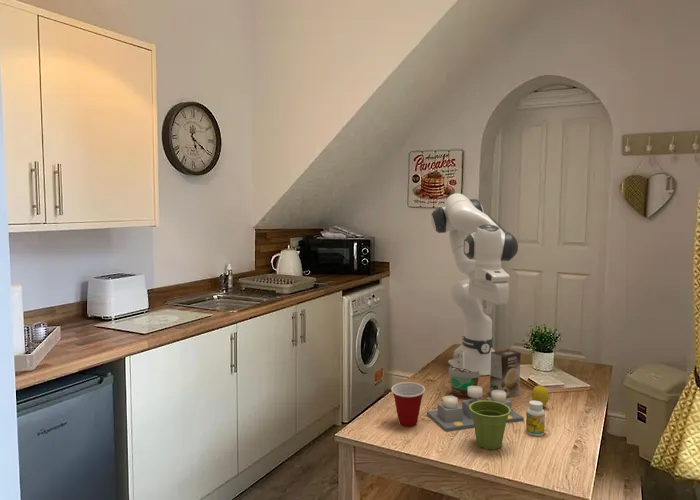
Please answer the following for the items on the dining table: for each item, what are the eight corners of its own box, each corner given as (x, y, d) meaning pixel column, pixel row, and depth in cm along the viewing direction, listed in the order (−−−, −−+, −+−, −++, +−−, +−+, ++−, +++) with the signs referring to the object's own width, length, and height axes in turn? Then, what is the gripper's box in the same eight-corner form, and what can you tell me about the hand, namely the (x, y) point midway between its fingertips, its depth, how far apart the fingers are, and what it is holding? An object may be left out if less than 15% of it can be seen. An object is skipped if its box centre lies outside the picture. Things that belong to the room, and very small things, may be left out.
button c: (439, 415, 182) (440, 396, 181) (453, 413, 183) (453, 395, 182) (446, 421, 177) (446, 401, 177) (460, 419, 179) (460, 400, 178)
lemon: (549, 411, 188) (550, 388, 187) (532, 409, 189) (533, 387, 189) (546, 404, 194) (547, 382, 193) (530, 403, 195) (531, 381, 194)
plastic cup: (386, 427, 175) (386, 390, 174) (397, 414, 185) (397, 380, 184) (418, 433, 171) (419, 395, 170) (428, 420, 181) (429, 384, 180)
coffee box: (502, 400, 198) (503, 356, 197) (489, 394, 204) (490, 352, 202) (519, 395, 203) (521, 352, 201) (506, 390, 208) (507, 348, 207)
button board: (426, 414, 185) (426, 400, 185) (499, 404, 194) (500, 391, 193) (445, 431, 172) (446, 416, 172) (523, 420, 180) (523, 405, 180)
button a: (488, 409, 187) (488, 390, 186) (500, 407, 188) (501, 389, 188) (495, 414, 182) (496, 395, 182) (508, 412, 184) (509, 394, 183)
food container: (441, 393, 205) (441, 367, 204) (450, 389, 209) (451, 363, 208) (470, 402, 196) (470, 375, 195) (479, 398, 200) (480, 371, 199)
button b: (464, 405, 184) (464, 386, 183) (477, 403, 186) (477, 385, 185) (471, 410, 180) (472, 391, 179) (484, 408, 181) (485, 389, 180)
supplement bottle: (547, 433, 171) (548, 403, 170) (537, 438, 167) (538, 407, 166) (532, 427, 175) (533, 398, 174) (522, 432, 172) (523, 402, 171)
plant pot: (460, 440, 166) (461, 404, 165) (492, 433, 171) (493, 398, 170) (485, 457, 155) (486, 418, 154) (518, 449, 160) (519, 411, 159)
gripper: (464, 269, 196) (463, 307, 197) (495, 277, 177) (494, 320, 178) (480, 268, 198) (479, 306, 199) (513, 276, 178) (511, 318, 180)
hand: (486, 313), depth 189 cm, fingers closed
